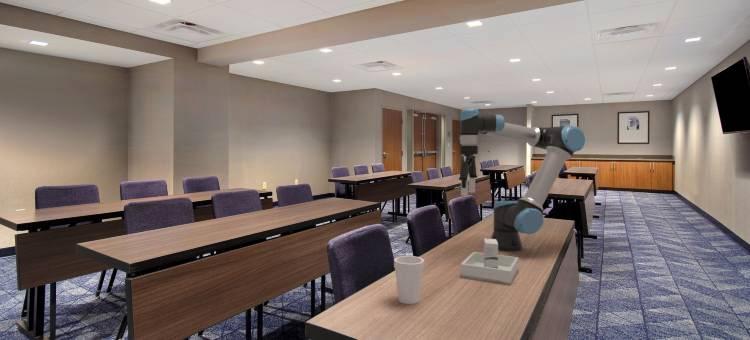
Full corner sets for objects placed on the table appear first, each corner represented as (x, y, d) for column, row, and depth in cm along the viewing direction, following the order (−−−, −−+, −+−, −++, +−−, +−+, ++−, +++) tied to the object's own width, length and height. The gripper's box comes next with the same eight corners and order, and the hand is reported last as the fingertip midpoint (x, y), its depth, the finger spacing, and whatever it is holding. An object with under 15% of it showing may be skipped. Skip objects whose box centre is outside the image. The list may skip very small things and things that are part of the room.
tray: (473, 263, 166) (473, 251, 165) (518, 269, 157) (518, 257, 157) (460, 277, 148) (460, 264, 148) (510, 285, 139) (510, 271, 139)
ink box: (498, 274, 148) (498, 243, 147) (484, 273, 149) (485, 243, 148) (496, 267, 156) (496, 238, 156) (483, 266, 157) (483, 237, 157)
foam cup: (392, 294, 130) (392, 256, 129) (419, 294, 130) (420, 255, 130) (396, 306, 120) (396, 264, 119) (426, 305, 121) (426, 264, 120)
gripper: (467, 145, 183) (466, 190, 184) (452, 145, 160) (451, 196, 162) (483, 145, 179) (482, 191, 180) (470, 145, 157) (469, 197, 158)
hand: (468, 194), depth 171 cm, fingers open, 13 cm apart
